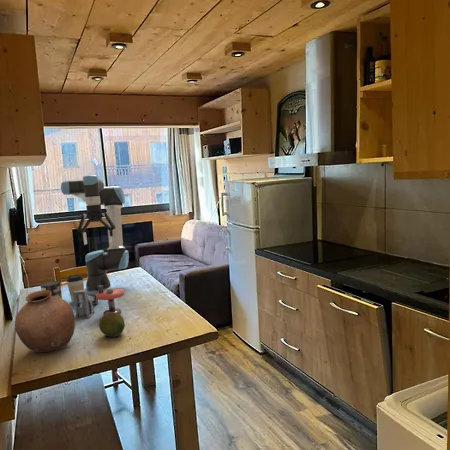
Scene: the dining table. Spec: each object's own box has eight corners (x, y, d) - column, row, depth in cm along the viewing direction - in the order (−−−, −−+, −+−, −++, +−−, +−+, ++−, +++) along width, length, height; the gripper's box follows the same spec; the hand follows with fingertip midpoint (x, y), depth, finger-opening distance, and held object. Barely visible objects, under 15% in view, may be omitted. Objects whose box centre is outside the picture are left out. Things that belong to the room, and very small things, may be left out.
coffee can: (67, 304, 233) (63, 280, 231) (56, 310, 223) (52, 285, 221) (51, 304, 235) (47, 280, 233) (39, 310, 225) (36, 286, 223)
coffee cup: (88, 297, 242) (85, 273, 240) (81, 302, 233) (78, 277, 231) (74, 298, 243) (70, 273, 241) (66, 303, 234) (63, 278, 232)
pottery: (68, 333, 189) (61, 280, 185) (85, 348, 170) (77, 290, 167) (14, 349, 175) (5, 293, 172) (26, 367, 157) (16, 305, 153)
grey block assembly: (80, 311, 219) (77, 286, 217) (97, 309, 219) (93, 285, 217) (71, 319, 207) (68, 294, 205) (89, 318, 206) (85, 292, 205)
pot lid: (129, 291, 214) (128, 282, 213) (114, 300, 201) (113, 290, 200) (106, 291, 219) (105, 281, 218) (90, 299, 206) (89, 289, 205)
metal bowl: (106, 311, 216) (104, 294, 215) (123, 309, 216) (121, 293, 214) (101, 317, 207) (99, 300, 206) (118, 315, 207) (116, 298, 205)
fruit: (116, 327, 191) (114, 307, 189) (133, 333, 183) (131, 311, 181) (95, 336, 182) (92, 315, 181) (111, 342, 174) (109, 320, 173)
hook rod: (92, 303, 230) (92, 291, 231) (98, 303, 230) (98, 291, 231) (80, 302, 212) (80, 289, 214) (86, 302, 212) (86, 289, 214)
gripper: (67, 206, 215) (72, 246, 218) (114, 203, 215) (119, 242, 217) (72, 205, 222) (77, 243, 225) (118, 202, 222) (122, 240, 225)
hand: (98, 243), depth 221 cm, fingers open, 13 cm apart
